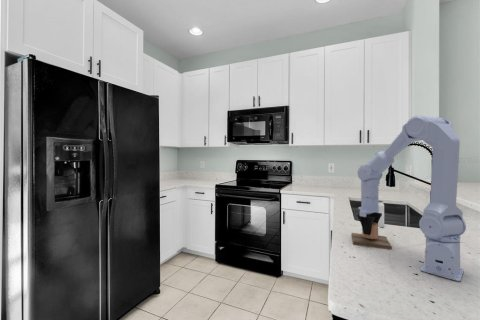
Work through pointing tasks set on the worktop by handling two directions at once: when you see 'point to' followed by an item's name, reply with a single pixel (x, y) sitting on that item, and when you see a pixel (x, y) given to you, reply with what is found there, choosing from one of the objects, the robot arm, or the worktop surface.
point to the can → (381, 210)
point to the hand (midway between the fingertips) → (369, 232)
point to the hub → (372, 232)
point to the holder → (371, 241)
